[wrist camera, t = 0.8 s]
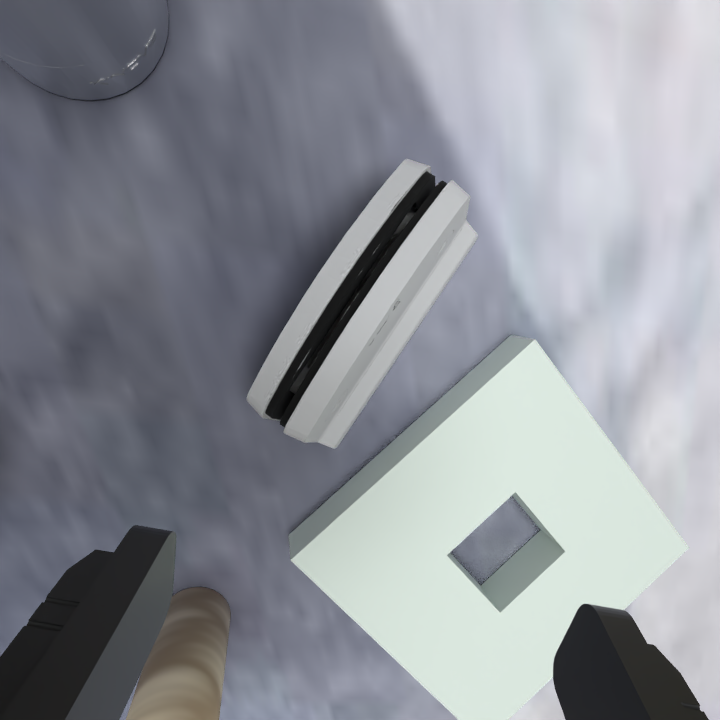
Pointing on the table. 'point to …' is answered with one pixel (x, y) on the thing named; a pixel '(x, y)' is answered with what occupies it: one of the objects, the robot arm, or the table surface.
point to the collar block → (466, 512)
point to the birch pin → (186, 661)
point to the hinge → (364, 306)
